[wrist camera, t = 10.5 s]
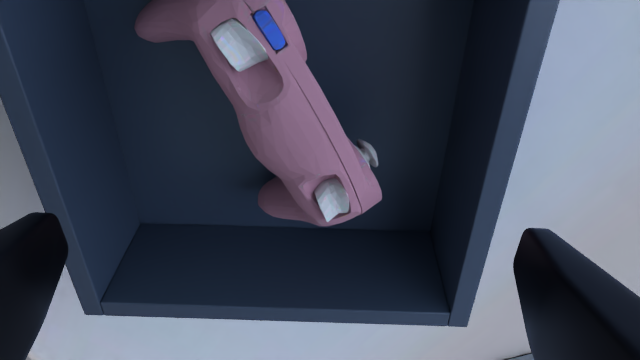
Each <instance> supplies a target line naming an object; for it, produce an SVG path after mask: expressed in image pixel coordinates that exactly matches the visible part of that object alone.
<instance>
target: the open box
mask: <svg viewBox="0 0 640 360" xmlns="http://www.w3.org/2000/svg"><path fill="white" fill-rule="evenodd" d="M151 1H152V0H0V97H1V100H2V102H3V105H4V107H5V110H6V112H7V115H8V118H9V120H10V123H11V125H12V128H13V131H14V133H15V136H16V138H17V141H18V143H19V146H20V149H21V151H22V154H23V156H24V159H25V161H26V164H27V167H28V169H29V172H30V174H31V177H32V179H33V182H34V185H35V187H36V190H37V192H38V195H39V197H40V200H41V203H42V205H43V208H44V210H45V213H52V214H55V215H56V216H57V217H58V219H59V222H60V225H61V227H62V230H63V232H64V235H65V238H66V240H67V243H68V256H67V260H66V262H65V264H66V267H67V270H68V272H69V275H70V277H71V280H72V282H73V285H74V288H75V290H76V293H77V295H78V298H79V300H80V303H81V306H82V308H83V311H84V313H85V314H86V315H111V316H142V317H174V318H206V319H238V320H269V321H301V322H333V323H365V324H397V325H428V326H447V325H448V326H455V327H467V324H468V321H469V317H470V314H471V310H472V307H473V303H474V300H475V296H476V293H477V289H478V286H479V282H480V279H481V275H482V272H483V268H484V264H485V261H486V257H487V254H488V250H489V247H490V243H491V240H492V236H493V233H494V229H495V226H496V222H497V219H498V215H499V212H500V208H501V205H502V201H503V198H504V194H505V191H506V187H507V184H508V180H509V176H510V173H511V169H512V166H513V162H514V159H515V155H516V152H517V148H518V145H519V141H520V138H521V134H522V131H523V127H524V124H525V120H526V117H527V113H528V110H529V106H530V103H531V99H532V95H533V92H534V88H535V85H536V81H537V78H538V74H539V71H540V67H541V64H542V60H543V57H544V53H545V50H546V46H547V43H548V39H549V36H550V32H551V29H552V25H553V22H554V18H555V15H556V11H557V7H558V4H559V0H285V2H286V3H287V5H288V7H289V9H290V11H291V12H292V14H293V16H294V18H295V20H296V22H297V25H298V27H299V29H300V32H301V35H302V38H303V41H304V44H305V48H306V52H307V60H306V61H305V63H306V65H307V66H308V68H309V70H310V71H311V73H312V75H313V76H314V78H315V80H316V81H317V83H318V85H319V86H320V88H321V90H322V92H323V93H324V95H325V97H326V99H327V101H328V102H329V104H330V106H331V108H332V110H333V111H334V113H335V115H336V117H337V119H338V121H339V123H340V125H341V127H342V129H343V131H344V133H345V135H346V136H347V137H348V138H349V140H350V141H351V142H352V143H353V145H355V146H356V147H358V145H357V140H358V139H361V140H363V141H365V142H367V143H369V144H370V145H371V146H372V147H373V148H374V150H375V151H376V154H377V158H378V166H377V167H373V166H372V165H371V164H370V163H369V165H370V169H371V171H372V172H373V174H374V176H375V177H376V179H377V181H378V184H379V186H380V188H381V192H382V200H381V201H379V202H378V203H377V204H375V205H374V206H372V207H371V208H370V209H368V210H367V211H365V212H364V213H363V214H361V215H357V216H356V217H354V218H352V219H350V220H347V221H345V222H342V223H339V224H335V225H331V226H317V225H315V224H312V223H309V222H305V221H301V220H291V219H282V218H277V217H273V216H271V215H269V214H267V213H265V212H264V211H263V210H262V209H261V208H260V207H259V205H258V194H259V191H260V190H261V188H262V187H263V186H264V185H265V184H266V183H267V182H268V181H270V180H272V179H273V178H275V177H276V175H275V174H273V173H272V172H271V171H269V170H268V169H267V168H266V167H265V166H264V165H263V164H262V163H261V162H260V161H259V160H258V159H257V158H256V157H255V156H254V155H253V153H252V151H251V150H250V148H249V147H248V145H247V143H246V141H245V139H244V136H243V134H242V131H241V129H240V125H239V122H238V118H237V114H236V112H235V109H234V107H233V105H232V103H231V102H230V100H229V99H228V97H227V96H226V94H225V93H224V91H223V90H222V88H221V87H220V85H219V84H218V82H217V81H216V79H215V78H214V76H213V75H212V73H211V71H210V69H209V68H208V66H207V64H206V62H205V60H204V59H203V57H202V55H201V53H200V52H199V50H198V48H197V46H196V44H195V43H194V41H191V40H174V41H167V42H160V43H154V42H151V41H147V40H145V39H143V38H141V37H139V36H138V35H137V33H136V31H135V29H134V27H135V21H136V18H137V16H138V15H139V13H140V12H141V11H142V9H143V8H144V7H145V6H146V5H147V4H148V3H149V2H151Z"/></svg>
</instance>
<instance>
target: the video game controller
mask: <svg viewBox="0 0 640 360" xmlns="http://www.w3.org/2000/svg"><path fill="white" fill-rule="evenodd" d="M134 29H135V31H136V33H137V35H138V36H139V37H141V38H143V39H145V40H147V41H151V42H154V43H160V42H167V41H174V40H191V41H194V43H195V44H196V46H197V48H198V50H199V52H200V53H201V55H202V57H203V59H204V60H205V62H206V64H207V66H208V68H209V69H210V71H211V73H212V75H213V76H214V78H215V79H216V81H217V82H218V84H219V85H220V87H221V88H222V90H223V91H224V93H225V94H226V96H227V97H228V99H229V100H230V102H231V103H232V105H233V107H234V109H235V112H236V114H237V118H238V122H239V125H240V129H241V131H242V134H243V136H244V139H245V141H246V143H247V145H248V147H249V148H250V150H251V151H252V153H253V155H254V156H255V157H256V158H257V159H258V160H259V161H260V162H261V163H262V164H263V165H264V166H265V167H266V168H267V169H268V170H269V171H271V172H272V173H273V174H275V175H276V177H275V178H273V179H272V180H270V181H268V182H267V183H266V184H265V185H264V186H263V187H262V188H261V190H260V191H259V194H258V205H259V207H260V208H261V209H262V210H263V211H264V212H265V213H267V214H269V215H271V216H273V217H277V218H282V219H291V220H301V221H305V222H309V223H312V224H315V225H317V226H331V225H335V224H339V223H342V222H345V221H347V220H350V219H352V218H354V217H356V216H357V215H361V214H363V213H364V212H365V211H367V210H368V209H370V208H371V207H372V206H374V205H375V204H377V203H378V202H379V201H381V200H382V192H381V188H380V186H379V184H378V181H377V179H376V177H375V176H374V174H373V172H372V171H371V169H370V165H369V163H370V164H371V165H372V166H373V167H377V166H378V158H377V154H376V151H375V150H374V148H373V147H372V146H371V145H370V144H369V143H367V142H365V141H363V140H361V139H358V140H357V145H358V147H356V146H355V145H353V143H352V142H351V141H350V140H349V138H348V137H347V136H346V135H345V133H344V131H343V129H342V127H341V125H340V123H339V121H338V119H337V117H336V115H335V113H334V111H333V110H332V108H331V106H330V104H329V102H328V101H327V99H326V97H325V95H324V93H323V92H322V90H321V88H320V86H319V85H318V83H317V81H316V80H315V78H314V76H313V75H312V73H311V71H310V70H309V68H308V66H307V65H306V63H305V61H306V60H307V52H306V48H305V44H304V41H303V38H302V35H301V32H300V29H299V27H298V25H297V22H296V20H295V18H294V16H293V14H292V12H291V11H290V9H289V7H288V5H287V3H286V2H285V0H152V1H151V2H149V3H148V4H147V5H146V6H145V7H144V8H143V9H142V11H141V12H140V13H139V15H138V16H137V18H136V21H135V27H134Z"/></svg>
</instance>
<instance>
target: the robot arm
mask: <svg viewBox="0 0 640 360" xmlns="http://www.w3.org/2000/svg"><path fill="white" fill-rule="evenodd" d="M67 256H68V243H67V240H66V238H65V235H64V232H63V230H62V227H61V225H60V222H59V219H58V217H57V216H56V215H55V214H52V213H38V212H35V213H30V214H28V215H26V216H24V217H22V218H21V219H19V220H17V221H15V222H13V223H12V224H10V225H8V226H6V227H4V228H2V229H1V230H0V360H25V359H26V357H27V355H28V353H29V351H30V349H31V347H32V345H33V343H34V341H35V339H36V337H37V335H38V333H39V331H40V329H41V327H42V324H43V322H44V319H45V317H46V314H47V312H48V309H49V306H50V303H51V301H52V298H53V295H54V292H55V290H56V287H57V284H58V281H59V279H60V276H61V273H62V271H63V268H64V265H65V262H66V260H67ZM513 268H514V275H515V280H516V285H517V290H518V294H519V299H520V304H521V309H522V314H523V319H524V323H525V328H526V333H527V337H528V341H529V345H530V348H531V352H532V355H533V358H534V360H640V297H639V296H637V295H636V294H635V293H633V292H632V291H631V290H629V289H628V288H627V287H625V286H624V285H623V284H621V283H620V282H619V281H617V280H616V279H615V278H613V277H612V276H611V275H609V274H608V273H607V272H605V271H604V270H603V269H601V268H600V267H599V266H597V265H596V264H595V263H593V262H592V261H591V260H589V259H588V258H587V257H585V256H584V255H583V254H581V253H580V252H579V251H577V250H576V249H575V248H573V247H572V246H571V245H569V244H568V243H567V242H565V241H564V240H563V239H561V238H560V237H559V236H557V235H556V234H555V233H553V232H552V231H551V230H549V229H542V228H528V229H526V230H525V231H524V232H523V234H522V237H521V240H520V243H519V246H518V249H517V252H516V255H515V258H514V263H513Z"/></svg>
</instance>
